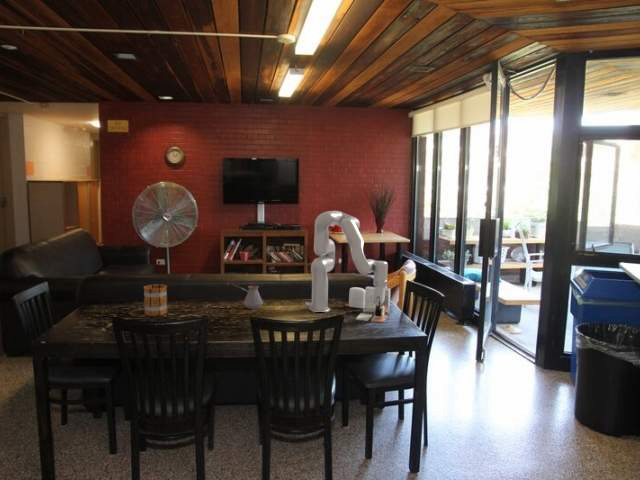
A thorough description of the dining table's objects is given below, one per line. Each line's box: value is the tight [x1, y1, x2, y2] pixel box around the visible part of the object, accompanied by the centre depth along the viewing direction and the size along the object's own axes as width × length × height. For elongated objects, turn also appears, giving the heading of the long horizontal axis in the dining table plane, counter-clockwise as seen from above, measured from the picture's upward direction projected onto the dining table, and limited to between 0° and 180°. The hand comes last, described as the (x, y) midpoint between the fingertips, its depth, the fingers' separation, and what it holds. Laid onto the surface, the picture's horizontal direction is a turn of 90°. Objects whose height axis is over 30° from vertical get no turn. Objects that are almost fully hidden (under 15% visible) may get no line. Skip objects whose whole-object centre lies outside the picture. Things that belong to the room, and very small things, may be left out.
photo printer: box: [348, 286, 365, 310], centre depth 303 cm, size 10×4×12 cm, turn 67°
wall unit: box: [361, 286, 393, 316], centre depth 292 cm, size 16×8×14 cm, turn 72°
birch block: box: [373, 306, 385, 317], centre depth 278 cm, size 5×5×5 cm
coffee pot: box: [227, 281, 264, 310], centre depth 297 cm, size 21×12×15 cm, turn 87°
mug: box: [143, 283, 168, 316], centre depth 284 cm, size 20×14×15 cm
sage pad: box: [355, 312, 374, 322], centre depth 281 cm, size 7×12×1 cm, turn 162°
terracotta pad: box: [370, 315, 388, 323], centre depth 278 cm, size 7×12×1 cm, turn 162°
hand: (379, 314), depth 278 cm, fingers closed on birch block, 4 cm apart
